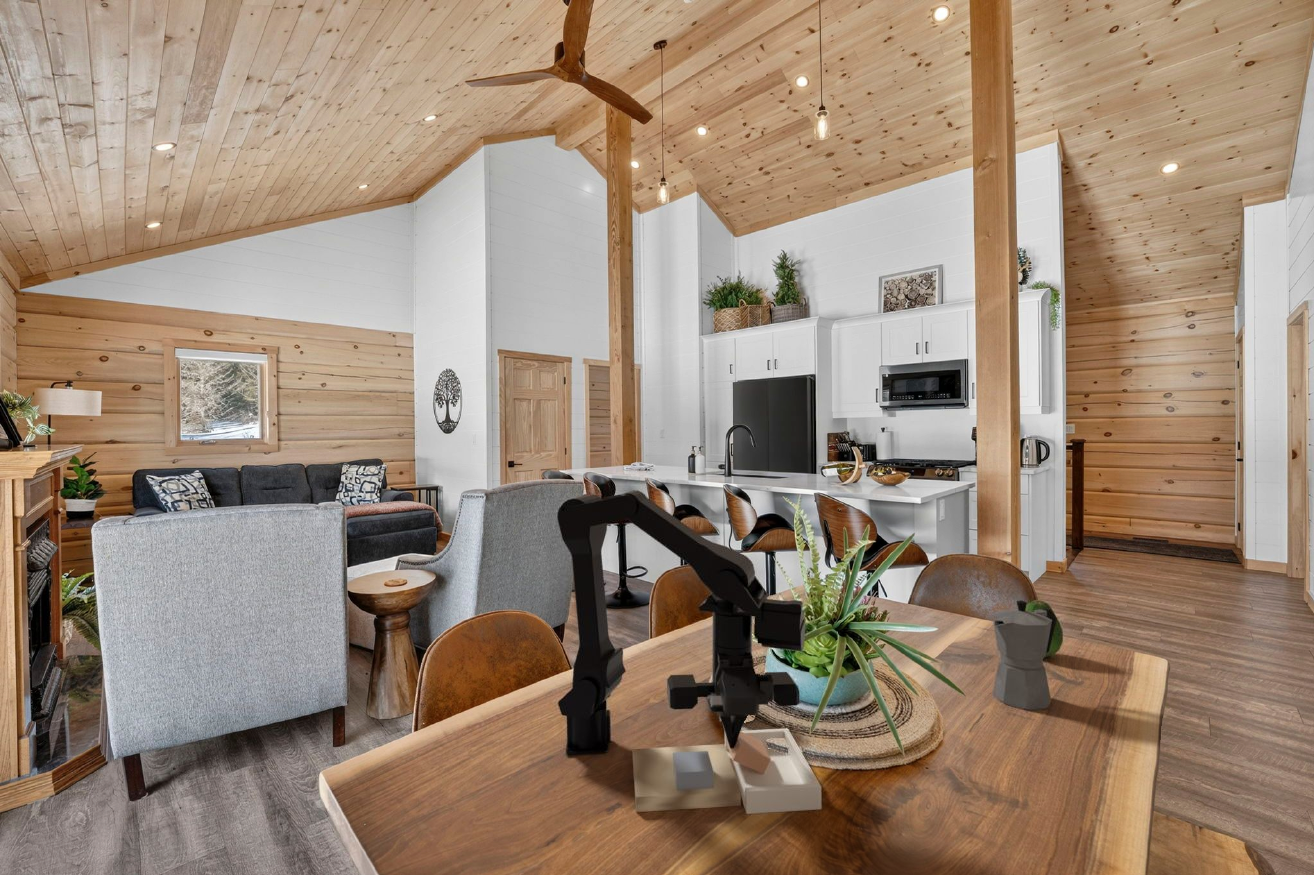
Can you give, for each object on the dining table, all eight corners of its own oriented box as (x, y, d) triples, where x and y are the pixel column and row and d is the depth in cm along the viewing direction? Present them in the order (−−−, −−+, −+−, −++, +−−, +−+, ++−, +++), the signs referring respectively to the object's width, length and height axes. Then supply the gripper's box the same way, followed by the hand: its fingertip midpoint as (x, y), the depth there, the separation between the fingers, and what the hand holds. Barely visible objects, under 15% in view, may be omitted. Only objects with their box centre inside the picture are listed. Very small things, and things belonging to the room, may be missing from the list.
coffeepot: (1020, 717, 106) (1020, 613, 106) (972, 695, 115) (973, 598, 114) (1079, 700, 112) (1080, 601, 112) (1030, 680, 121) (1030, 588, 120)
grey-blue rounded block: (676, 790, 84) (676, 772, 84) (672, 769, 89) (672, 752, 89) (713, 788, 84) (713, 770, 84) (707, 767, 89) (707, 750, 89)
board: (635, 812, 82) (635, 797, 82) (632, 762, 94) (632, 749, 94) (740, 805, 83) (740, 790, 83) (724, 756, 95) (724, 744, 95)
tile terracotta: (732, 760, 90) (740, 745, 90) (726, 742, 95) (733, 727, 95) (763, 774, 90) (770, 759, 90) (755, 755, 95) (762, 741, 95)
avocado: (1011, 653, 135) (1011, 598, 134) (1034, 647, 138) (1035, 593, 138) (1047, 666, 128) (1048, 608, 127) (1071, 659, 131) (1072, 602, 131)
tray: (746, 813, 82) (746, 791, 82) (724, 750, 97) (724, 731, 97) (821, 809, 82) (821, 786, 82) (787, 747, 98) (787, 728, 98)
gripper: (674, 665, 83) (673, 781, 83) (812, 661, 84) (811, 775, 84) (666, 636, 94) (666, 738, 94) (788, 633, 95) (787, 734, 96)
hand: (731, 747), depth 92 cm, fingers closed
